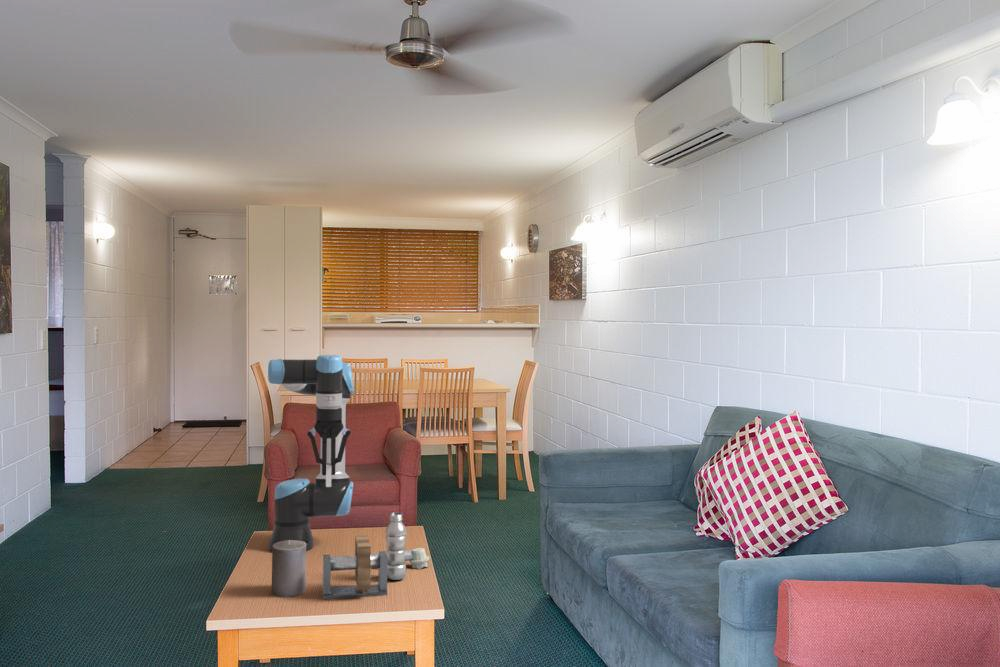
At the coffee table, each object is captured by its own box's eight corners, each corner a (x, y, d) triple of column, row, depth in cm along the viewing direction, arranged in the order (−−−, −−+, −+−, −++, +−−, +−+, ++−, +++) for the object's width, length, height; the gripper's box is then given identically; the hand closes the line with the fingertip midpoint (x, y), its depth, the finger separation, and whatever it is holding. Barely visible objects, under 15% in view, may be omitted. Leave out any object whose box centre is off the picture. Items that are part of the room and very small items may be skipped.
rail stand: (322, 591, 227) (322, 553, 227) (384, 587, 231) (385, 549, 231) (323, 599, 220) (323, 560, 220) (387, 594, 225) (387, 556, 224)
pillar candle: (264, 591, 226) (265, 540, 226) (293, 583, 234) (294, 533, 233) (283, 600, 220) (284, 547, 220) (312, 591, 227) (313, 540, 227)
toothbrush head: (350, 553, 252) (427, 542, 254) (353, 574, 252) (430, 562, 254) (348, 558, 247) (427, 547, 249) (351, 579, 247) (429, 567, 249)
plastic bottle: (395, 574, 243) (396, 510, 243) (410, 579, 239) (411, 513, 239) (380, 579, 238) (380, 514, 238) (395, 584, 234) (395, 517, 234)
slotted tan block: (354, 576, 232) (355, 536, 231) (366, 575, 232) (367, 535, 232) (357, 589, 220) (358, 547, 220) (370, 588, 221) (370, 546, 221)
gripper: (306, 409, 226) (306, 489, 227) (352, 408, 230) (351, 487, 231) (306, 405, 233) (305, 484, 234) (350, 405, 237) (349, 482, 238)
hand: (328, 485), depth 232 cm, fingers closed
